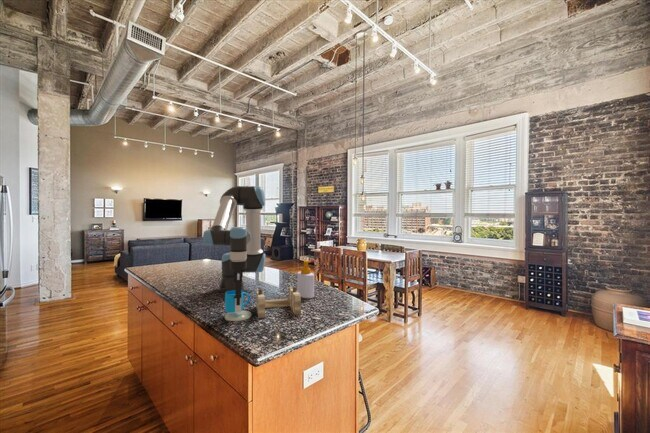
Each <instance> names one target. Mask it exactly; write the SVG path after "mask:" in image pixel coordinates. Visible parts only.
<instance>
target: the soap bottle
mask: <svg viewBox="0 0 650 433" xmlns="http://www.w3.org/2000/svg"><path fill="white" fill-rule="evenodd" d="M309 263H312V260H304V261H303V267H302V268H301V269H300V271H298V272H297V279H296V280H297V286H296V287H297V291H298V292H299V293H300V295H301V298H303V299H313V298H314V297H315V274H314V272H311V271H312V270H311V268H310V267H309Z"/></svg>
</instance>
